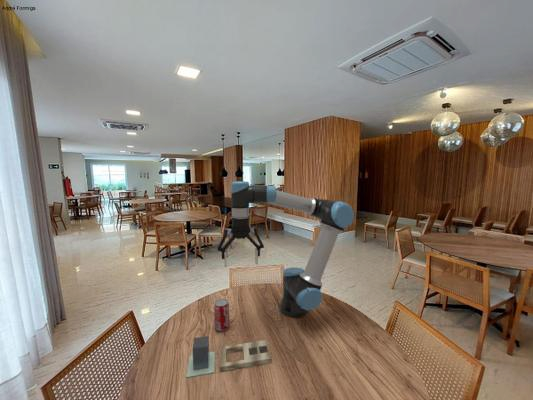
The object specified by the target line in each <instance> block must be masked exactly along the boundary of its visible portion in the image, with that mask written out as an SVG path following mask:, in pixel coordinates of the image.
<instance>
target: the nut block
mask: <svg viewBox="0 0 533 400" xmlns="http://www.w3.org/2000/svg"><path fill="white" fill-rule="evenodd" d="M209 337H210V336H209V335H205V336H200V337H194V338H193V345H192V355H193V371H194V370H200V369H206V368H208V367H209V352H210V342H209V341H210V340H209V339H210V338H209Z"/></svg>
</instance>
